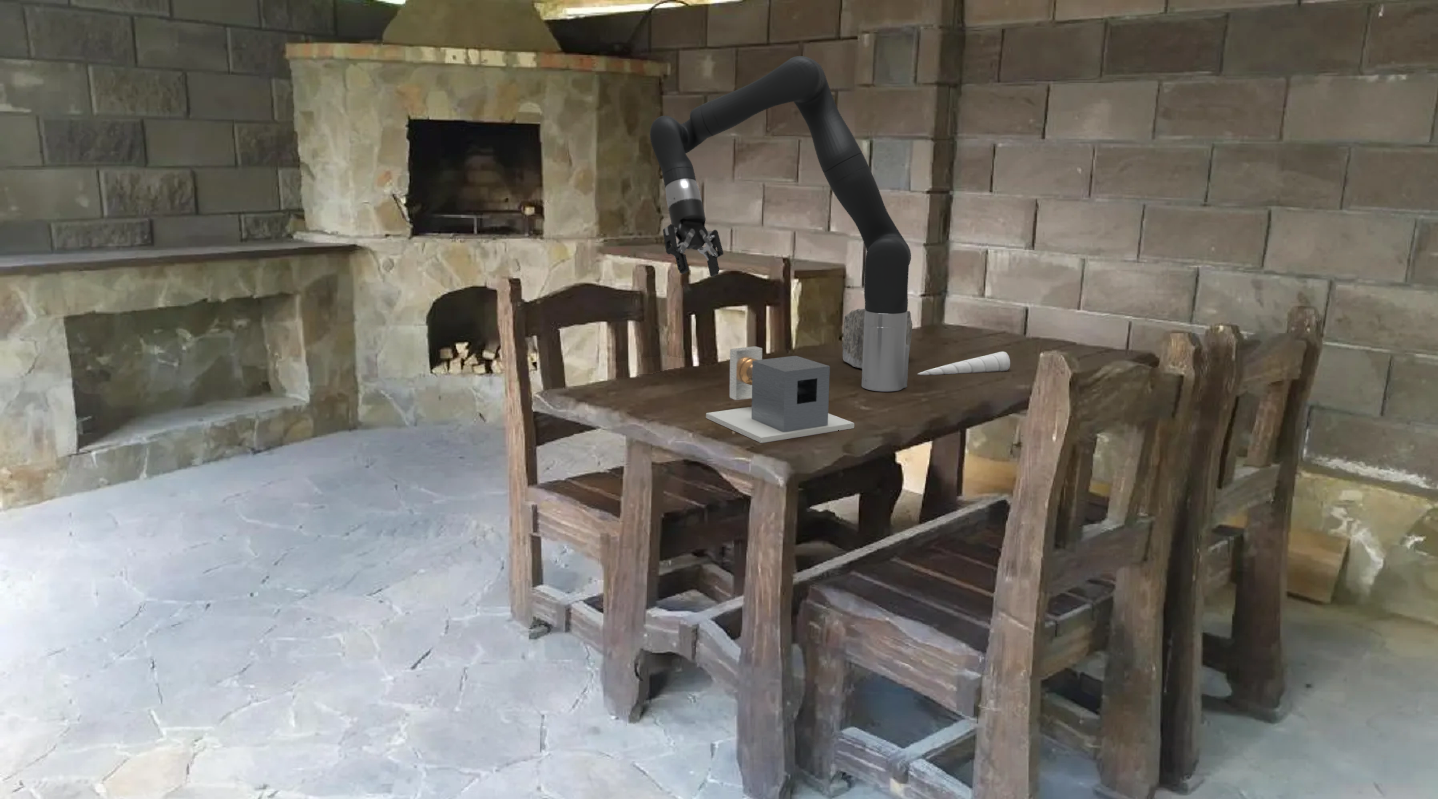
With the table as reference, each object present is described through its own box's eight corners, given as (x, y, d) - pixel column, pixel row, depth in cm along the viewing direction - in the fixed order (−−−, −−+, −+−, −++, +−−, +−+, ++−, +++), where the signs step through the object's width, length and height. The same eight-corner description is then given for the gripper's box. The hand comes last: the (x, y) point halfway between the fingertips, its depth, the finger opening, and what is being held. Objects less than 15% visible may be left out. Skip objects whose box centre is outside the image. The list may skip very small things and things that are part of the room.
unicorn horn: (910, 372, 246) (911, 353, 245) (1000, 369, 252) (1002, 349, 250) (918, 377, 241) (920, 357, 240) (1010, 373, 247) (1012, 353, 246)
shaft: (754, 394, 212) (755, 346, 209) (797, 410, 199) (799, 359, 196) (729, 397, 209) (730, 348, 206) (771, 414, 196) (772, 363, 193)
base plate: (794, 405, 213) (794, 400, 213) (854, 428, 196) (854, 423, 196) (705, 418, 203) (705, 413, 202) (761, 443, 186) (761, 437, 186)
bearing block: (794, 412, 203) (795, 355, 201) (827, 425, 194) (829, 366, 191) (751, 418, 198) (752, 360, 196) (783, 432, 189) (785, 371, 186)
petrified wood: (887, 354, 267) (890, 296, 263) (931, 366, 252) (934, 305, 248) (827, 360, 258) (829, 301, 254) (868, 374, 243) (871, 311, 240)
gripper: (669, 193, 218) (685, 265, 215) (720, 200, 227) (735, 269, 224) (649, 208, 223) (663, 278, 220) (699, 215, 233) (713, 282, 229)
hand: (699, 273), depth 222 cm, fingers open, 8 cm apart
